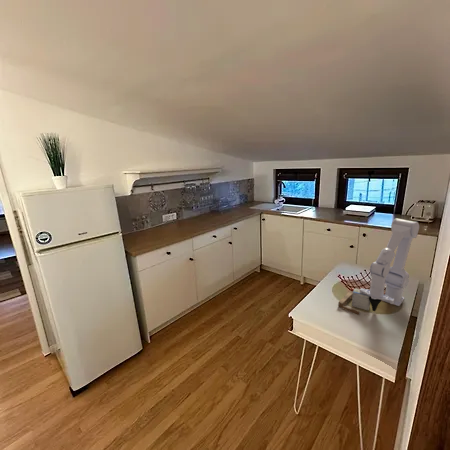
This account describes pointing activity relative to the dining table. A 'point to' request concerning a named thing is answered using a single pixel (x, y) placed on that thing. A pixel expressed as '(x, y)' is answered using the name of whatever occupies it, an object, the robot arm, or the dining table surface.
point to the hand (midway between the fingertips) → (374, 310)
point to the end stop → (346, 300)
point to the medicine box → (360, 300)
